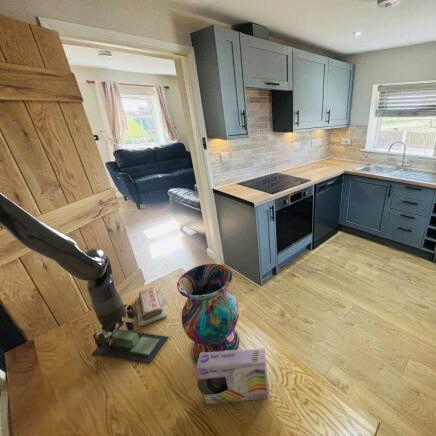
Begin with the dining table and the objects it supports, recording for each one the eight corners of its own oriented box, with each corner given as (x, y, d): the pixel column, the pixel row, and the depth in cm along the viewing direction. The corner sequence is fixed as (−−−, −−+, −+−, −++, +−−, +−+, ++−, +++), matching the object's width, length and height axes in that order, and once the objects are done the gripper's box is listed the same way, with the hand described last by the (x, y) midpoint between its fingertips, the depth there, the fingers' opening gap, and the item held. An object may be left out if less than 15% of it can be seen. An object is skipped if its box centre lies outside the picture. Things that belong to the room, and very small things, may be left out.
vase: (240, 320, 97) (234, 258, 84) (243, 362, 81) (236, 293, 68) (192, 328, 93) (179, 265, 80) (185, 375, 76) (167, 304, 64)
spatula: (103, 348, 84) (99, 339, 82) (117, 334, 89) (113, 325, 87) (148, 355, 82) (145, 346, 80) (159, 340, 87) (157, 331, 85)
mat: (92, 353, 82) (92, 352, 82) (115, 329, 92) (115, 329, 91) (150, 362, 80) (149, 362, 80) (168, 337, 89) (168, 336, 89)
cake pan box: (201, 406, 68) (191, 366, 61) (206, 388, 73) (197, 349, 66) (268, 402, 70) (266, 362, 62) (268, 384, 74) (266, 345, 67)
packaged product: (132, 292, 104) (158, 283, 109) (135, 300, 106) (160, 291, 111) (136, 319, 90) (165, 308, 96) (139, 328, 92) (167, 317, 98)
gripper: (116, 289, 85) (128, 322, 92) (78, 321, 72) (95, 356, 79) (135, 292, 84) (145, 325, 91) (100, 324, 72) (115, 360, 78)
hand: (122, 339), depth 85 cm, fingers open, 8 cm apart
